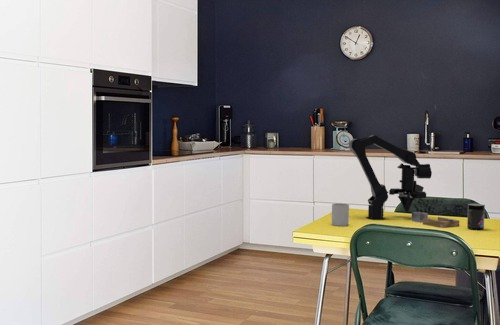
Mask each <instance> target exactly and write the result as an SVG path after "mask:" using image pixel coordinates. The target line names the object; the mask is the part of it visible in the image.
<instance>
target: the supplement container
mask: <svg viewBox="0 0 500 325" xmlns="http://www.w3.org/2000/svg"><path fill="white" fill-rule="evenodd" d="M485 206H486V205H485V204H481V203H467V220H466V221H467V223H466V224H467V226H466V228H467V229H468V230H471V231H483V230H484V228H485V210H486V209H485V208H486V207H485Z"/></svg>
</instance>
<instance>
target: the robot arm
mask: <svg viewBox="0 0 500 325" xmlns="http://www.w3.org/2000/svg"><path fill="white" fill-rule="evenodd" d="M372 145H375V146H376V147H378V148H380V149H382V150H384V151H386V152H388V153H390V154H392V155H394V156H395V157H396V158H397V159H399V160H400V161H401V163H400V164H399V165H398V166H397V169H401V179H399V183H400V185H401V186H400V187H399V188H398V187H397V188H396V187H395V188H390V189H389V190H387V187H386V185H385V184H383V183H382V184H381V183H380V182H379V180H378V178H377V176H376V173H375V171H374V170H373V166H372V165H371V163H370V160H369V158H368V156H367V152H366V148H367V147H369V146H372ZM348 148H349V149H350V151H351V153H352V154H353V155H354V156H355V157H356V158H357V160H358V162H359V164H360V166H361V168H362V171H363V172H364V175H365V177H366V179H367V182H368V184H369V185H370V191H371V195H372V196H370V197H369V198H368V199H367V202H368V208H367V209H368V212H367V216H365V218H366V219H370V220H385V219H386V217H384V210H385V209H384V205H385V203H386V202H387V201H388V199H389V195H391V196H392V195H393V196H394V195H397V198H398V199H399V201H400V202H401V204H402V207H403V209H404V211H405V212H406V213H407V212H409V211H410V207H412V206H411V205H412V203H413V201H414V200H416V199H426V198H427V192H426V191H423V190H424V186H422V185H419V184H418V183H417V180H415V177H416V179H431V178H432V168H431V164H430V163H424V164H423V163H422V164H421V163H420V162H419V160H417V154H416V153H415V152H413V151H410V150H408V149H404V148H400V147H398V146H396V145H395V144H392V143H390V142H388V141H387V140H384V139H383V138H380V137H379V136H378V135H376V134H371V135H370V136H366V137H362V138H352V139H351V140H350V141H349V142H348ZM413 166H414V167H413ZM388 194H389V195H388Z"/></svg>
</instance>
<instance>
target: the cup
mask: <svg viewBox="0 0 500 325" xmlns="http://www.w3.org/2000/svg"><path fill="white" fill-rule="evenodd" d="M349 211H350V204H348V203H332V204H331V225H332V226H334V227H348V226H349V223H350V221H349V217H350V216H349V215H350V212H349Z"/></svg>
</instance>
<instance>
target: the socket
mask: <svg viewBox="0 0 500 325" xmlns="http://www.w3.org/2000/svg"><path fill="white" fill-rule="evenodd" d="M428 216H429V213H428V212H421V211H415V212H411V222H415V223H423V218H426V219H429V217H428Z"/></svg>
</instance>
